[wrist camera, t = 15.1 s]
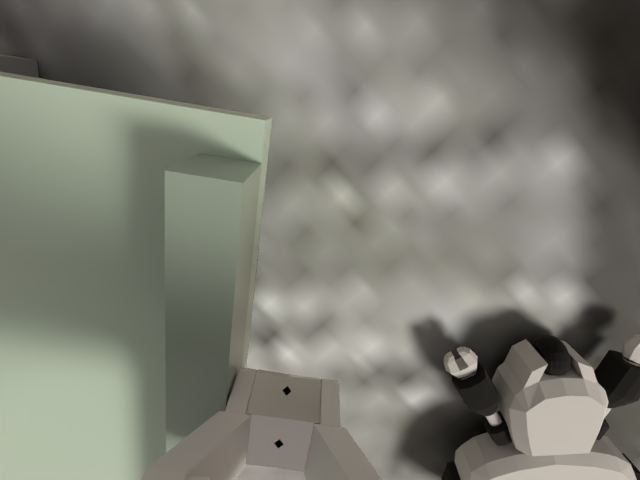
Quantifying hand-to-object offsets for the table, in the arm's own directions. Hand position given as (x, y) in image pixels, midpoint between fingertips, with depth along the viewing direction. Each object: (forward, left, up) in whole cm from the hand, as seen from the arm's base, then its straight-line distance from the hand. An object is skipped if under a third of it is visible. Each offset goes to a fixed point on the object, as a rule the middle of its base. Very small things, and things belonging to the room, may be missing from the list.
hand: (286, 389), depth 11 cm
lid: (0, -9, -1) cm, 9 cm away
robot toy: (+9, +16, -10) cm, 21 cm away
